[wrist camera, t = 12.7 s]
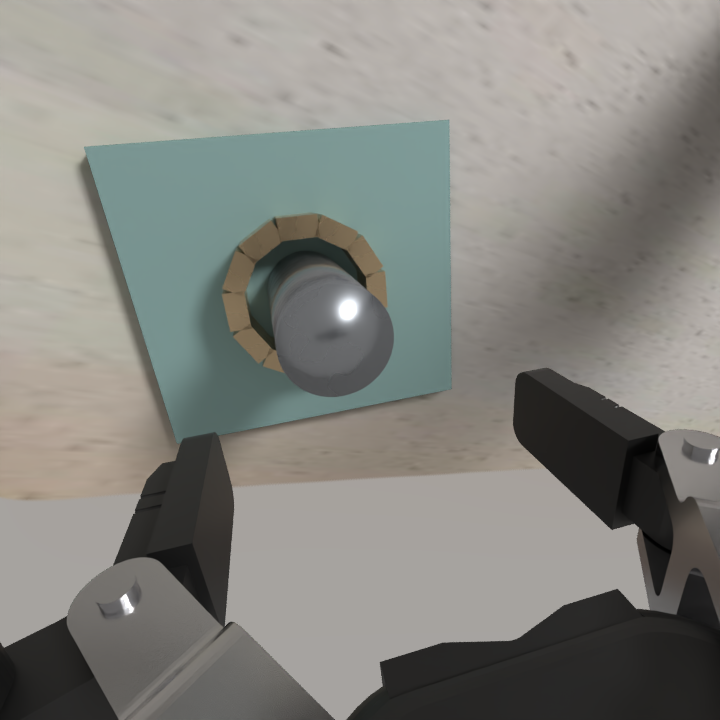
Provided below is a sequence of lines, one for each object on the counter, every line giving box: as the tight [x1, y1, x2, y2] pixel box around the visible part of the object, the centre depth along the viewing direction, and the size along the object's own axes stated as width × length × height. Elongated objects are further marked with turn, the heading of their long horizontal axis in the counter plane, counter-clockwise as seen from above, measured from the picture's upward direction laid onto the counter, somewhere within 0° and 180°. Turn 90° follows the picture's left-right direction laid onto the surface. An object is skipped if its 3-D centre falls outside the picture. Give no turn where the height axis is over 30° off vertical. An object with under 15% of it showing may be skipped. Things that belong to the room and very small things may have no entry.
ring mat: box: [84, 120, 452, 444], centre depth 27 cm, size 20×18×1 cm
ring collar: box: [222, 212, 388, 373], centre depth 25 cm, size 9×9×2 cm
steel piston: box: [267, 251, 394, 397], centre depth 22 cm, size 5×5×10 cm
